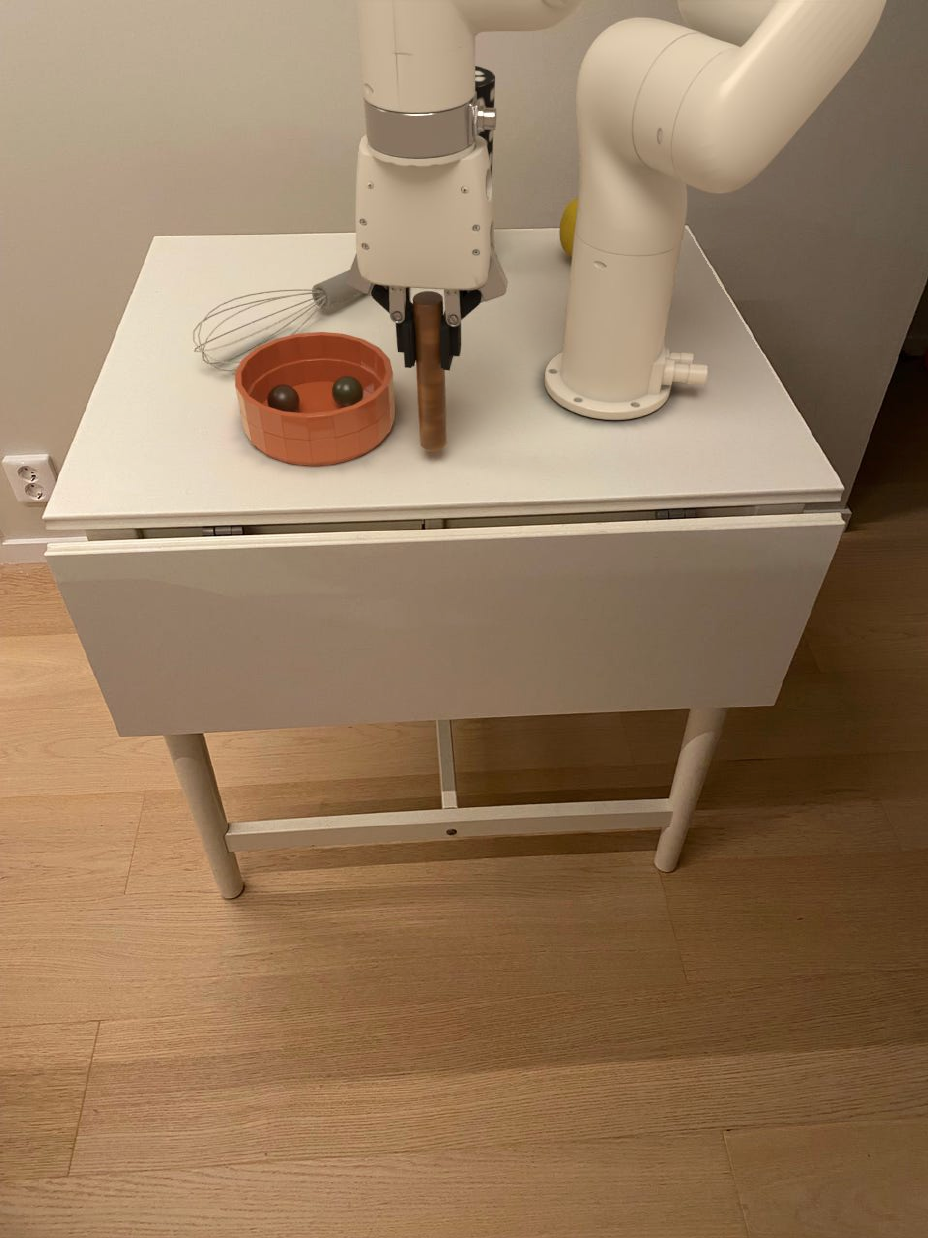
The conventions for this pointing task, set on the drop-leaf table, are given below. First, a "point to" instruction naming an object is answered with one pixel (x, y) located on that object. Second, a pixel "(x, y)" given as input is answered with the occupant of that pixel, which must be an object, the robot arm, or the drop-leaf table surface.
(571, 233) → the lemon
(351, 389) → the bead
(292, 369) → the bowl
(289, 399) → the bead
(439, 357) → the stirring stick
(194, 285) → the drop-leaf table surface
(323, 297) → the kitchen whisk
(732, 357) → the drop-leaf table surface
